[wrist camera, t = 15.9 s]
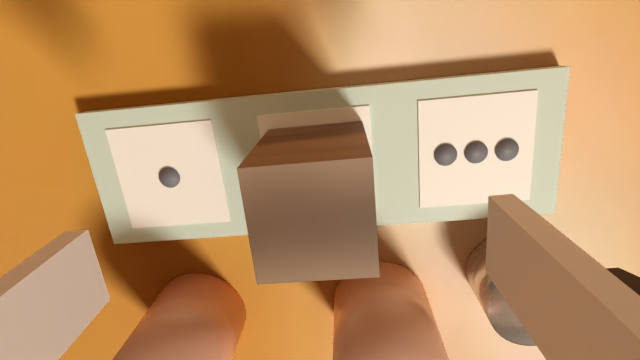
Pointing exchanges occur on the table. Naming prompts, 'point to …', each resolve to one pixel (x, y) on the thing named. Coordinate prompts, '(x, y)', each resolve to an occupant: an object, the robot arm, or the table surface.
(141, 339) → the peach capsule
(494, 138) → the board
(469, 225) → the table surface
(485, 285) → the tin
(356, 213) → the walnut block
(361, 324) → the pink capsule pill
